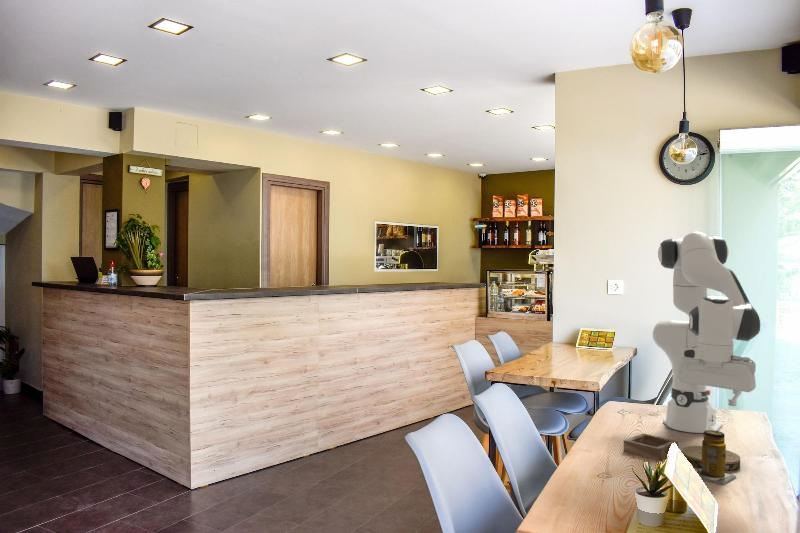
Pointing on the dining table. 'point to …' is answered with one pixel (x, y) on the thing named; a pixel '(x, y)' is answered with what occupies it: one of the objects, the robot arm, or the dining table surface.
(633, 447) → the holder
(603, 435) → the dining table surface
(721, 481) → the coaster
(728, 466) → the round cork trivet
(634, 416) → the dining table surface
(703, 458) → the condiment
